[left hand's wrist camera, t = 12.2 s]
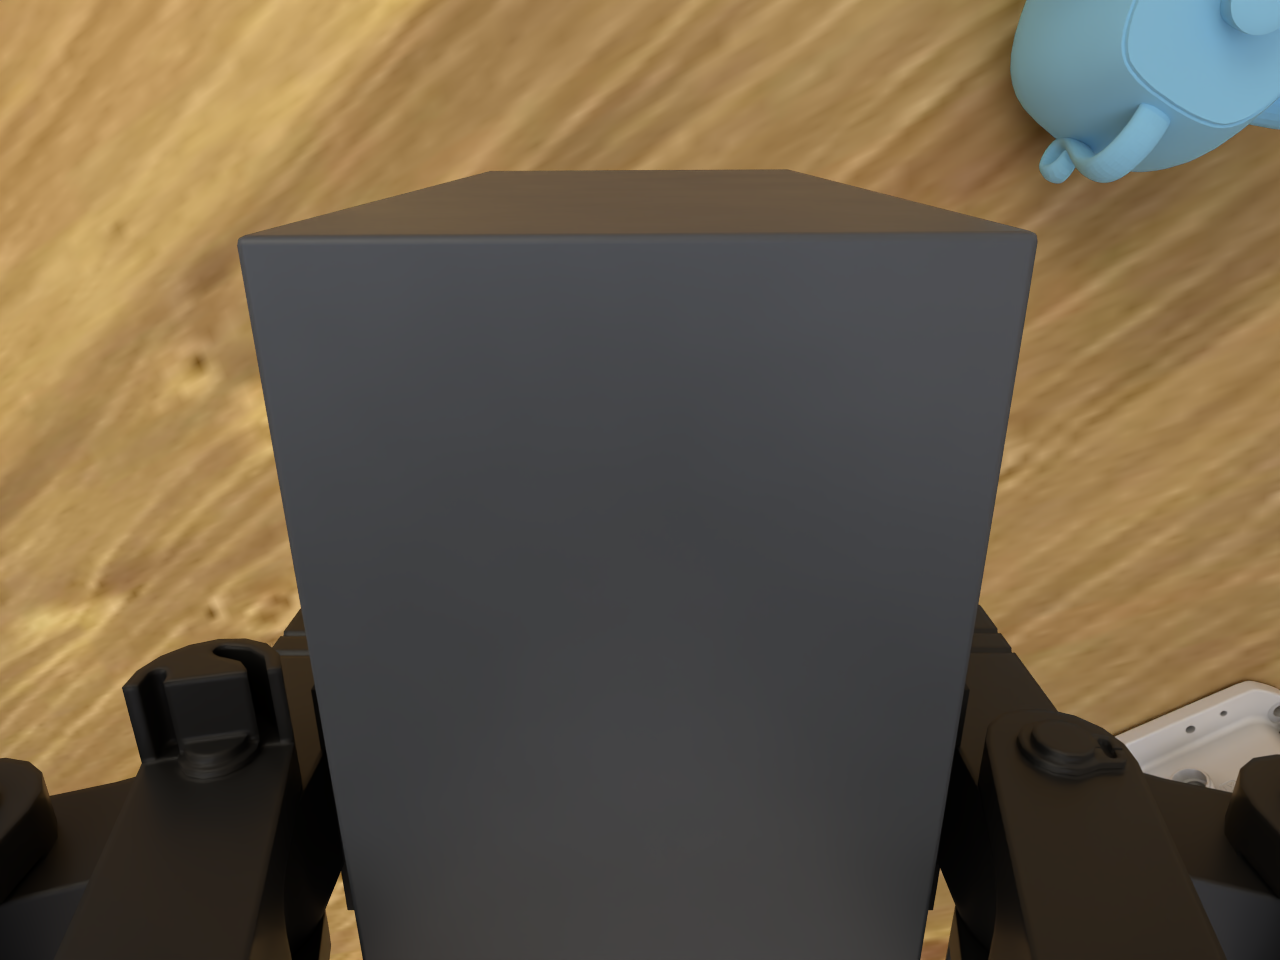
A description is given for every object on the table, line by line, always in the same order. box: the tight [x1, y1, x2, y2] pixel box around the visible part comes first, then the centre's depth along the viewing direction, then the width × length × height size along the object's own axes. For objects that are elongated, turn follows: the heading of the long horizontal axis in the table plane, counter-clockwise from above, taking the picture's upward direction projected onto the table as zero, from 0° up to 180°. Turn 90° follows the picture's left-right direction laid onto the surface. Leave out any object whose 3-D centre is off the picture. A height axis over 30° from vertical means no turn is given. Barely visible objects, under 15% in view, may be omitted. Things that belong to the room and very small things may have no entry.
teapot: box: [1010, 0, 1280, 183], centre depth 37 cm, size 13×14×11 cm
